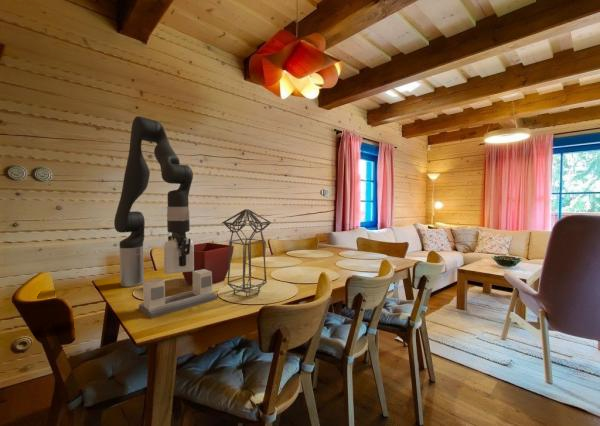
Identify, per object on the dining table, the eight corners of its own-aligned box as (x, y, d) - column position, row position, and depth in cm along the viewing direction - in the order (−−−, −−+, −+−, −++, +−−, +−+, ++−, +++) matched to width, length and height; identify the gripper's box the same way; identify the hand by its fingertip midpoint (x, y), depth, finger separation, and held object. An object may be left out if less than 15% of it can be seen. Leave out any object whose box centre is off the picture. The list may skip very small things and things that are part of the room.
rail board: (139, 308, 100) (138, 301, 100) (202, 292, 118) (201, 286, 117) (151, 318, 92) (151, 310, 92) (217, 299, 109) (217, 293, 109)
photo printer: (192, 269, 109) (192, 237, 108) (195, 271, 105) (194, 238, 105) (163, 272, 103) (162, 239, 103) (165, 275, 100) (164, 240, 99)
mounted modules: (143, 306, 98) (142, 280, 98) (204, 290, 115) (204, 269, 115) (150, 311, 94) (149, 284, 94) (212, 294, 111) (212, 271, 110)
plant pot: (235, 279, 136) (235, 245, 135) (203, 290, 120) (202, 251, 119) (208, 274, 146) (207, 242, 145) (175, 283, 130) (174, 247, 129)
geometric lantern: (247, 285, 127) (246, 208, 125) (273, 292, 118) (273, 209, 117) (219, 295, 114) (218, 209, 112) (247, 303, 105) (246, 210, 104)
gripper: (160, 218, 105) (161, 263, 106) (176, 220, 96) (177, 269, 96) (179, 217, 111) (180, 260, 112) (197, 219, 101) (198, 266, 102)
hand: (179, 264), depth 104 cm, fingers closed on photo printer, 5 cm apart
